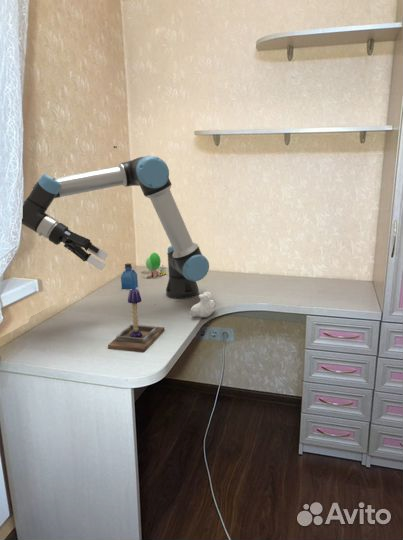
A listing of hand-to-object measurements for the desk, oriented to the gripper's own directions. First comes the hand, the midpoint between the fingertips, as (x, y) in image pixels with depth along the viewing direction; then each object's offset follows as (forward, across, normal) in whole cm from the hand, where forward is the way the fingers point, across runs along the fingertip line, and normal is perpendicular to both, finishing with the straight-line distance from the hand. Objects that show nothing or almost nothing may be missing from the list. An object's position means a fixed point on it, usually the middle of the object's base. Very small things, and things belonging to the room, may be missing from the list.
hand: (105, 262), depth 148 cm
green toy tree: (+20, -67, +26) cm, 75 cm away
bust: (+43, -7, +4) cm, 44 cm away
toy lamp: (+24, +3, -17) cm, 29 cm away
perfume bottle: (+12, -53, +10) cm, 55 cm away
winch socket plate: (+24, +3, -18) cm, 30 cm away
